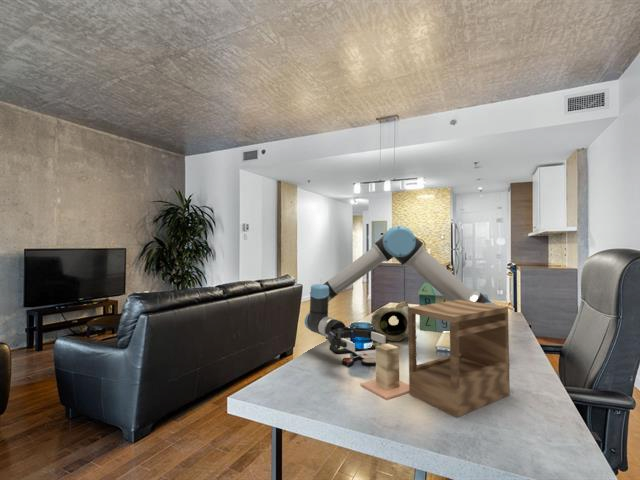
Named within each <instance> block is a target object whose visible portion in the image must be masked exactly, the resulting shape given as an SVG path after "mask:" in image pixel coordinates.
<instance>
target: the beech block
mask: <svg viewBox="0 0 640 480" xmlns="http://www.w3.org/2000/svg"><path fill="white" fill-rule="evenodd" d="M391 344H392V343H390V344H383V345H378V346H376V366H375V379H376V385H377V386H379V387H381V388H383V389H385V390H391V389H394V388H397V387H400V384H399V380H400V347H399V346H396V345H393V344H392V345H391Z"/></svg>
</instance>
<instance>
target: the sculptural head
mask: <svg viewBox="0 0 640 480" xmlns="http://www.w3.org/2000/svg"><path fill="white" fill-rule="evenodd" d="M408 307H410V306H409V304H408V302H406V301H404V300H403V301H401V302H398V304H396V306H395V307H381V308H378V309H376V310H375V311H374V312H373V313H372V315H371V319H370V321H371V322H370V323H371V326H372V325H373V327H374V330H377V333H378V334H381V335H384V336H386V341H389V342H390V341H392V342H401V341H403V340H405V339H407V338H409V334H408ZM392 317H396V320H397V324H391V323H390V322H389V321H390V319H391V318H392Z"/></svg>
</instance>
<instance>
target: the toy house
mask: <svg viewBox="0 0 640 480" xmlns="http://www.w3.org/2000/svg"><path fill="white" fill-rule="evenodd" d="M417 295H418V297H419V298H418V299H419V306H421V305H428V304H435V303H442V302H448V301H449V300H448V299H447V298H445V297H444V296H443V295H442V294H441V293H440V292H439V291H437V290H436V289H435V288H434V287H433V286H432V285H431V284H430V283H428V282H427V281H426V280H425V281H424V282H423V284H422V286H421V287H420V289H419V290H418V292H417ZM419 330H420V331H421V332H422V331H424V332H433V333H441V334H443V333H442V332H443V331H450V322H449V321H445V320H440V319H435V318H431V317H426V316H422V315H419Z"/></svg>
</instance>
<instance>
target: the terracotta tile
mask: <svg viewBox="0 0 640 480" xmlns="http://www.w3.org/2000/svg"><path fill="white" fill-rule="evenodd" d="M399 384H400V387H397V388H394V389H391V390H385V389H383V388H381V387H379V386H377V385H376V378H375V379H372V380H368V381H365V382H361V383H360V385H359V386H361V387H362V388H365V389H366V390H368V391H369V392H371V393H373V394H375V395H376V396H379V397H380V398H382V399H384V400H386V401H388V400H391V399H394V398H397V397H400V396H403V395H406V394H409V384H408V383H406V382H404V381H402V380H400V379H399Z"/></svg>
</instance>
